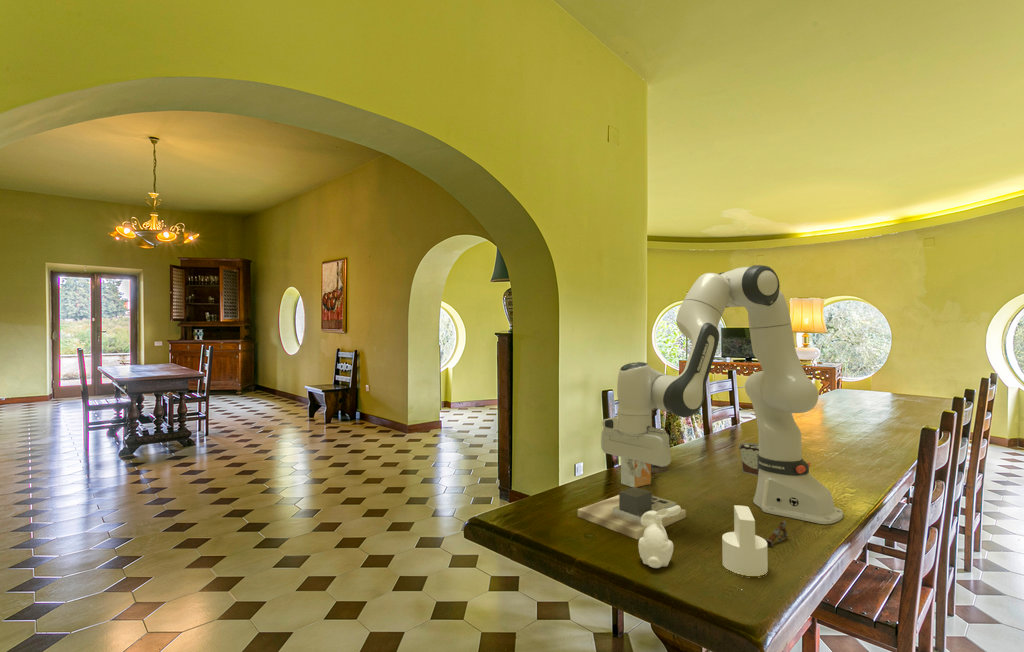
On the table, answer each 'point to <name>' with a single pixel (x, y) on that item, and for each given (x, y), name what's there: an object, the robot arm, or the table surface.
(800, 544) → the table surface
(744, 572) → the cylinder with rectangular tab
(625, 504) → the plug
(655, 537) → the rabbit
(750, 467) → the food container
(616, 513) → the socket
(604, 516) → the board
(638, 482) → the small box
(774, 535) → the wooden post with brackets
